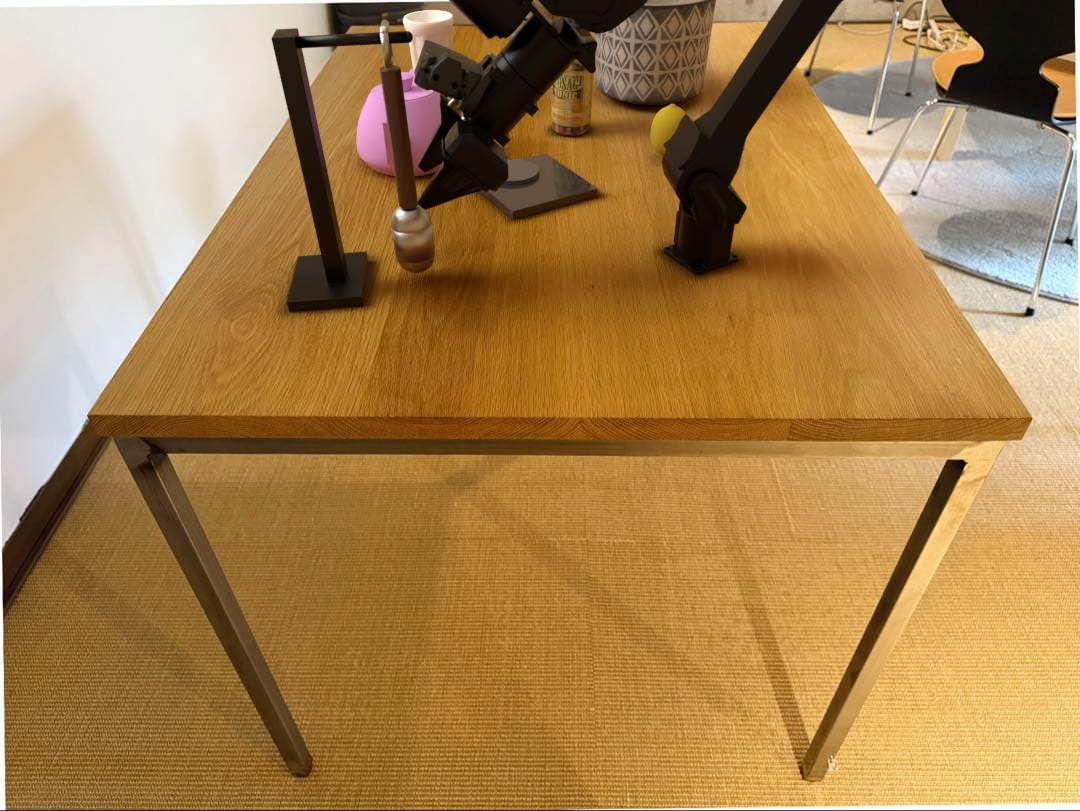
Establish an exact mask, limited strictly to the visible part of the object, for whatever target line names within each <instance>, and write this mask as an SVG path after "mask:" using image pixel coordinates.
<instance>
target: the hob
mask: <svg viewBox="0 0 1080 811" xmlns="http://www.w3.org/2000/svg"><path fill="white" fill-rule="evenodd" d="M507 162H508V176H509V178H508V179H507V180H506V181H505V182H504V183H503V184H502V186H501V187H500V188H499V189H498V190H497V191H496V192H494V191H491V190H489V191H487V192H485V191H484V190H482V191H479V193H480V194H481V195H483V196H484V197H485V198H486V199H487V200H488V201H489V202H491V203H492V204H493V205H494V206H496V207H497V208H498V209H499V210H500V211H502V212H503V213H504V214H505V215H506V216H508V217H509V218H510V219H511V220H518V219H520V218H521V219H522V218H525V217H528V216H531V215H535V214H539V213H543V212H546V211H549V210H553V209H556V208H560V207H561V208H562V207H564V206H568V205H571V204H575V203H579V202H582V201H587V200H589V199H593V198H597V197H598V191H599V190H598V187H596V186H595V185H594V184H592V183H591V182H589V181H587V180H586V179H584V178H583V177H581V176H580V175H579V174H577V173H575V171H573V170H572V169H570V168H568V167H567V166H565V165H564V164H563V163H561V162H560V161H558V160H556V159H555V158H553V157H552V156H551V155H549V154H548V153H546V152H544V153H541V154H536V155H533V156H528V157H524V158H519V159H507Z"/></svg>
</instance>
